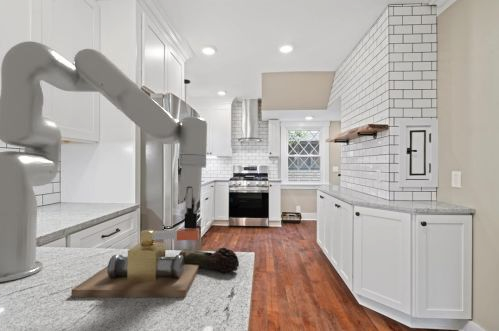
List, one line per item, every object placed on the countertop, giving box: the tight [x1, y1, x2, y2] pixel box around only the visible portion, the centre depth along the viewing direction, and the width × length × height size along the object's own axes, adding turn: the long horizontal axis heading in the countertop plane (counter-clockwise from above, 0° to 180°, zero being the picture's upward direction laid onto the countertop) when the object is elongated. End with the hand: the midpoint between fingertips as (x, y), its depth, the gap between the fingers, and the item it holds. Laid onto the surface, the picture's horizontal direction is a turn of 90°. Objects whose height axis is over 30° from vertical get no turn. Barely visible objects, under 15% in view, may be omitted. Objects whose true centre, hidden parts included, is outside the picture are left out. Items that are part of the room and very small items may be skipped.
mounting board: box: [70, 265, 200, 298], centre depth 62 cm, size 24×15×2 cm, turn 90°
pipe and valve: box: [107, 241, 184, 282], centre depth 62 cm, size 16×7×7 cm, turn 90°
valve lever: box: [140, 227, 200, 247], centre depth 63 cm, size 14×3×3 cm, turn 98°
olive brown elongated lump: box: [178, 247, 240, 275], centre depth 72 cm, size 18×7×6 cm, turn 66°
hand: (190, 227), depth 71 cm, fingers closed
